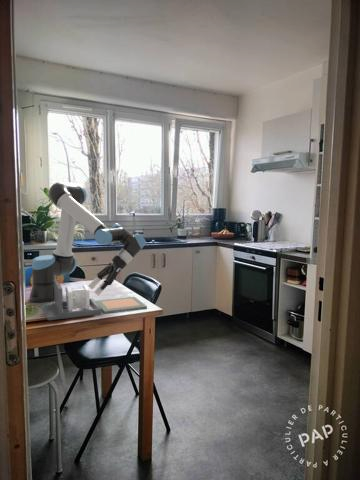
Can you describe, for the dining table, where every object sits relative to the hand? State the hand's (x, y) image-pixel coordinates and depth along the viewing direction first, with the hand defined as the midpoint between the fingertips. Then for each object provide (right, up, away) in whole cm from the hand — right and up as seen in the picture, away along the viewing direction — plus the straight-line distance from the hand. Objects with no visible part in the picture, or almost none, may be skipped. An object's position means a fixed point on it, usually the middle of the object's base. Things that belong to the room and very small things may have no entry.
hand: (92, 290), depth 172 cm
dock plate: (+12, -9, +8) cm, 17 cm away
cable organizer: (-7, -10, -1) cm, 12 cm away
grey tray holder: (-10, -10, -3) cm, 14 cm away
